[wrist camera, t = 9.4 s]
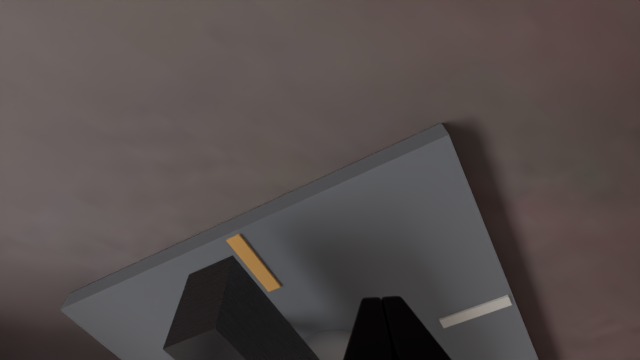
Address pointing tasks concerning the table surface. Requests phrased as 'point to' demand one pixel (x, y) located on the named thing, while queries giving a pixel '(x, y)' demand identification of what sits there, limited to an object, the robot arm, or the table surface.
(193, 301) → the brass dome with handle
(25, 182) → the table surface
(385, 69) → the table surface
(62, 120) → the table surface
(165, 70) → the table surface
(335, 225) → the socket base
